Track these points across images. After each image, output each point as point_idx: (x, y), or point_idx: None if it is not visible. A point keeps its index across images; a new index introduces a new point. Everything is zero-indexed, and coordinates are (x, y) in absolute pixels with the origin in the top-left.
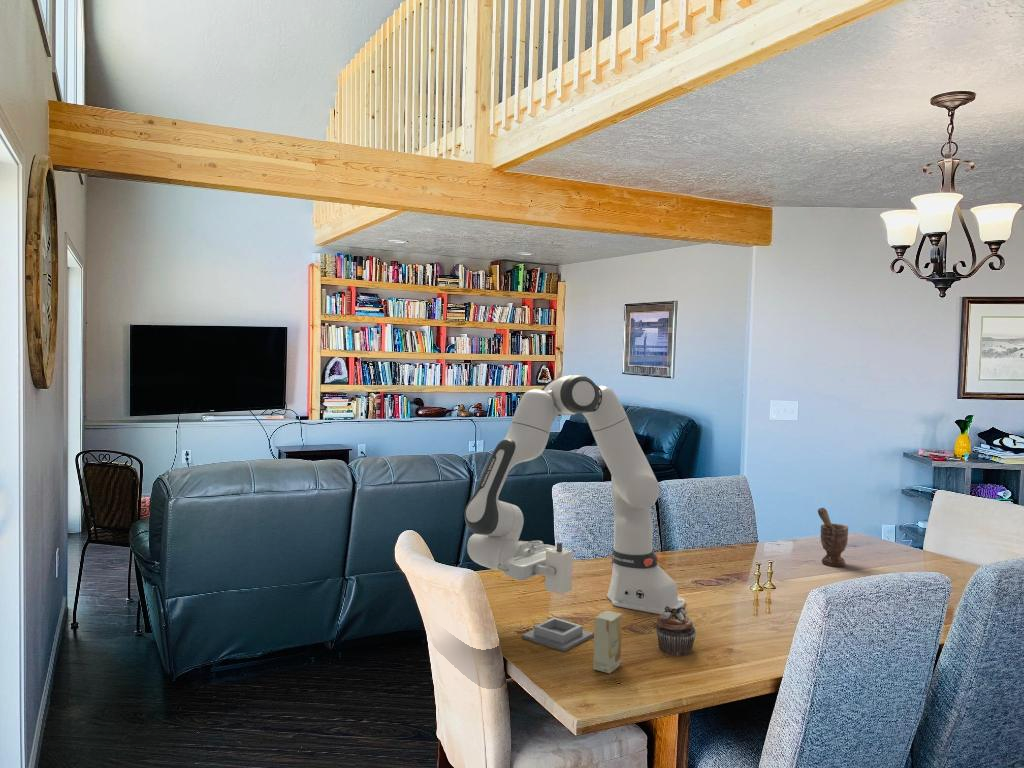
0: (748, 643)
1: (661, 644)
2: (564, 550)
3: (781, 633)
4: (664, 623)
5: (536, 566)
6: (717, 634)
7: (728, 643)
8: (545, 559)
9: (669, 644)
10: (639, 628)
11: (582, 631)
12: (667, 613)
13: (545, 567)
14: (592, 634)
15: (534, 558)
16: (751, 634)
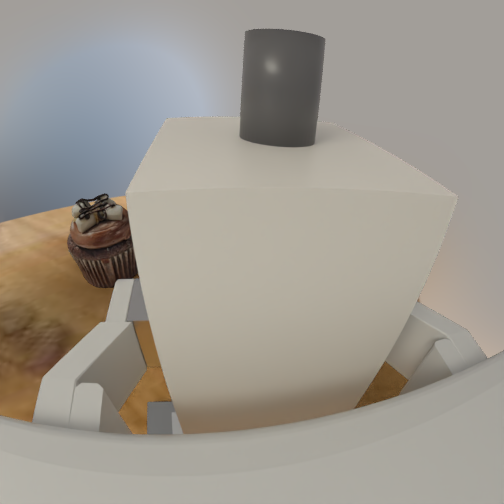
0: (47, 228)
1: (134, 264)
2: (206, 129)
3: (7, 222)
4: (129, 222)
5: (481, 360)
6: (27, 256)
7: (55, 239)
8: (349, 413)
9: None
10: (42, 347)
11: (161, 431)
12: (116, 205)
13: (419, 304)
14: (155, 403)
15: (488, 483)
16: (17, 236)
